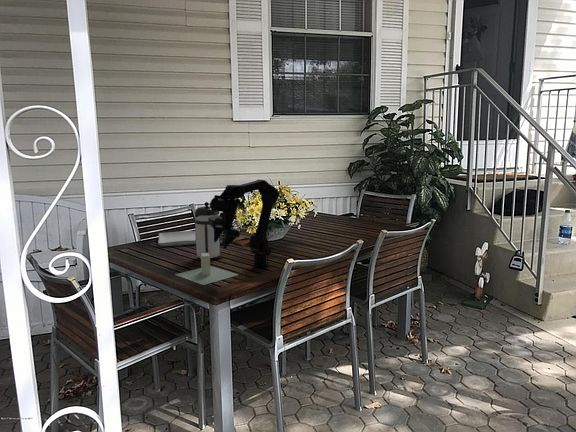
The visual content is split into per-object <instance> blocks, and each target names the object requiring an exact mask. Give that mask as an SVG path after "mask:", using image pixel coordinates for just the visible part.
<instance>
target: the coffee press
mask: <svg viewBox="0 0 576 432" xmlns="http://www.w3.org/2000/svg"><path fill="white" fill-rule="evenodd" d="M193 214H194V231H195V235H196V244H195V255H194V259H195V260H197V259H198V258H200V259H201V253H209V255H210V259H215V258H219V259H223V258H224V256H223V255H222V252H221V247H223V244H224V239H225V236H224V234H225V233H224V230H223V232H222V234H223V233H224V234H223V235H222V236H223V237H222V242H221V236H220V237H219V239H218V240H217V242H214V229H213V228H212V226H211V225H209V220H208V218H209V217H213V216H219V215H220V211H213V210H212V209H211V208H210V203H209V202H208V201H205V202H204V206H200V207H197V208H196V209H195V210H194V213H193ZM196 255H197V257H196Z"/></svg>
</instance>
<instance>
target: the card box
mask: <svg viewBox="0 0 576 432" xmlns="http://www.w3.org/2000/svg"><path fill="white" fill-rule="evenodd" d="M210 266H211V258H210V255H209V253H201V258H200V268H201V272H202V275H211V274H210Z"/></svg>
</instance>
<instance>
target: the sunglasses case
mask: <svg viewBox="0 0 576 432" xmlns="http://www.w3.org/2000/svg"><path fill="white" fill-rule="evenodd" d="M250 239H251V237H250V238H249V237H244V236H241V235H239V237H237V238H235V239H234V240H233V241H232V242H231V243H230V244H233V245H237V246H241V247H245V248H246V247H250V243H249V242H250Z"/></svg>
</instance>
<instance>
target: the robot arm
mask: <svg viewBox="0 0 576 432" xmlns="http://www.w3.org/2000/svg"><path fill="white" fill-rule="evenodd" d="M254 191H257V192H258V193H259V194H260V195H261V197H260V200H261V203H262V207H261V210H260V214H259V218H258V223H257V229H256V232H255V233H254V235H252V234H251V235H250V242H249V243H250V245H249V249H250V251H251V254H254V258H253V264H252V266H253V267H256V268H259V269H264V268H267V267H271V264H270V263H269V255H271V254H272V249H271V247H270V246H268V243H269V241H268V236H267V233H268V229H269V222H270V220H271V219H270V218H271V214H272V211H273V208H274V207H273V206H275V204H276V203H277V201H278V200H279V197H280V192H279V189H278V188H276V187H275V186H273V185H272V184H270V183H268V182H267V180H265V179H256V180H253V181H249V182H246V183H243V184H228V185H226V186H225V188H224V190H223V191H222V193H220V195H217V194H214V197H213V198H212V199H211V200H210V203H209V206H210V208H211V209H212V210H213V211H219V216H213V217H209V218H208V220H209V225H211V226H212V228H213V229H214V242H217V240H218V239H219V237H220V238H221V236H222V234H224V233H225V234H224V236H225V239H224V244H223V246H222V249H227V247H229V246H230V244H232V243H231V242H232V241H233V240H234V239H235V238H237V237H239V236H241V235H240V234H241V232H240V230H239V229H237V228H234V227H235V225H234V224H233V223H234V221H235V220H237V217H236V213H237V211H238V207H239V206H242V205H243V203H242V202H241V199H240V198H242V197H244V195H246V194H247V193H250V192H254ZM223 230H224V233H223Z"/></svg>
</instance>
